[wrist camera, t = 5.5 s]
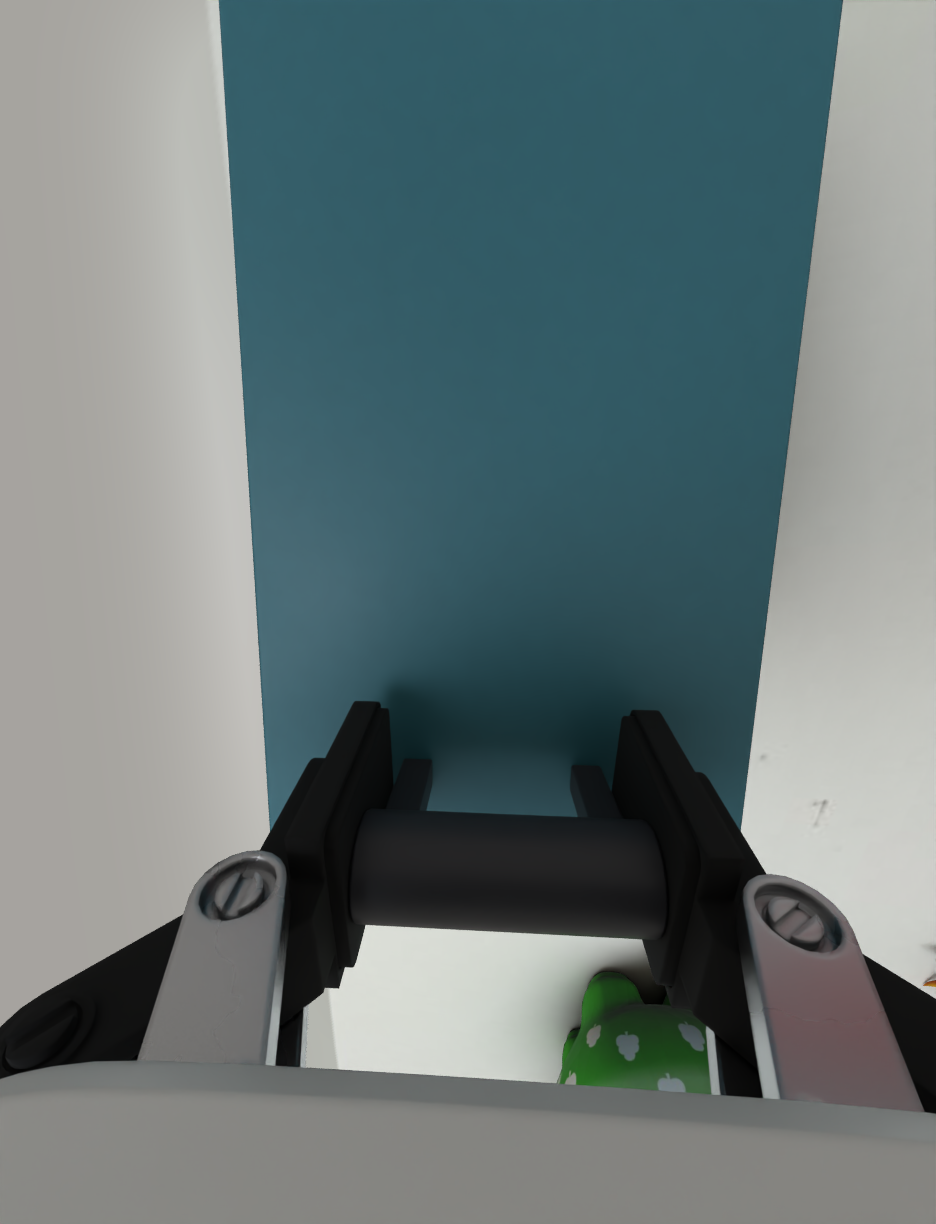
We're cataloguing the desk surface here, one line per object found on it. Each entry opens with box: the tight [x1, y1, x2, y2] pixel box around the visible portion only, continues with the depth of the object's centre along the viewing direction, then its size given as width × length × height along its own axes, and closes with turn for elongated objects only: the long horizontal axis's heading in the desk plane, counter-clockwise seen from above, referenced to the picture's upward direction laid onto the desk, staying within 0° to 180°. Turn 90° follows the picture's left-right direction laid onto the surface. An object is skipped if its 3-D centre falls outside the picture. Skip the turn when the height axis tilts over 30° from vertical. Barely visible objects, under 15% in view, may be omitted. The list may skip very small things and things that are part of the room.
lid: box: [219, 0, 843, 940], centre depth 9 cm, size 19×12×5 cm, turn 0°
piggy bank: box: [557, 972, 711, 1094], centre depth 29 cm, size 14×18×15 cm
